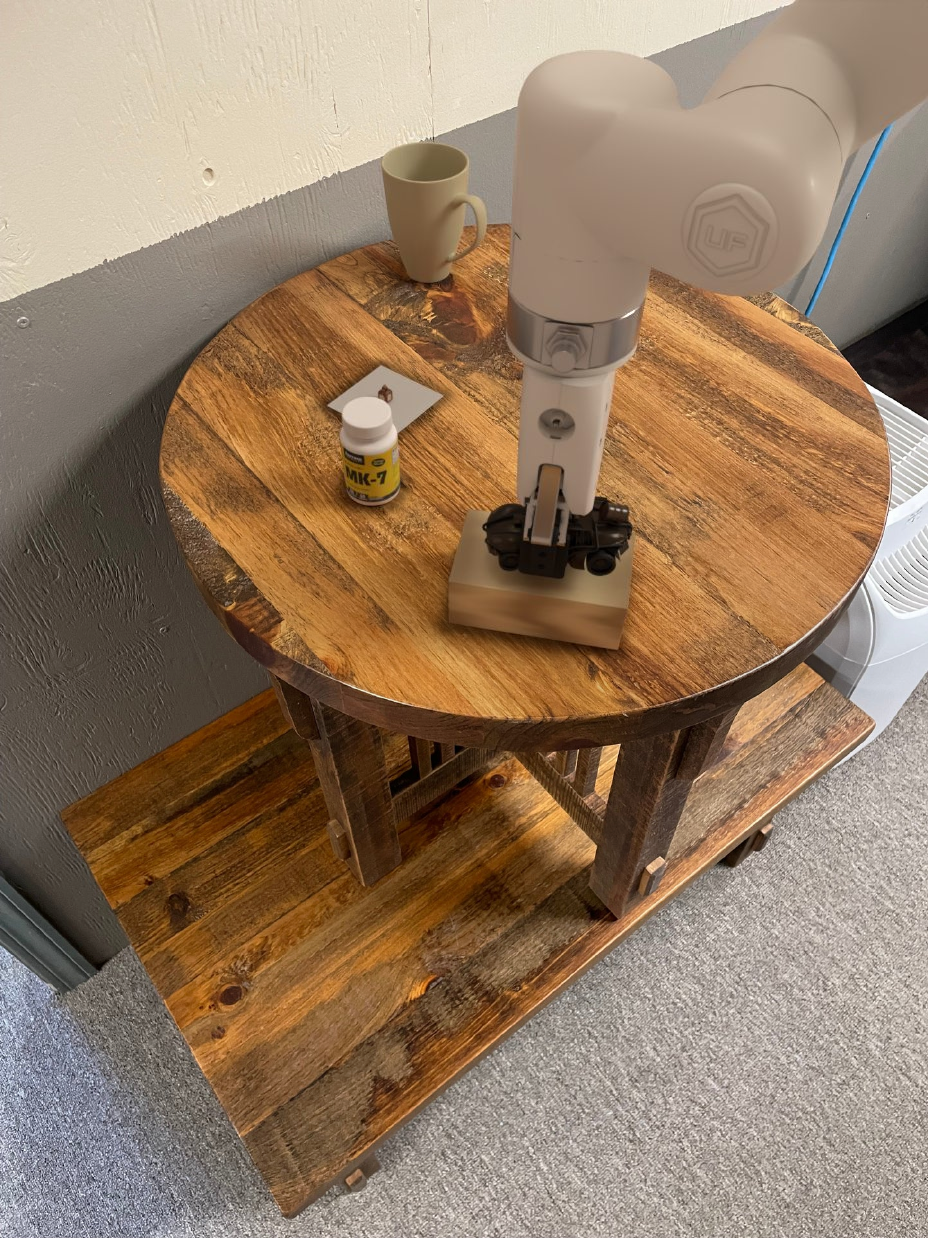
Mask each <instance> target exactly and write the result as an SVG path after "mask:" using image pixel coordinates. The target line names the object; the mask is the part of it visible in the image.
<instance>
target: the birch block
mask: <svg viewBox="0 0 928 1238" xmlns="http://www.w3.org/2000/svg"><path fill="white" fill-rule="evenodd" d="M491 512H492V511H487V510H479V509H473V508H468V509H467V512H466V516H465V519H464V520H465V521H464V523H463V527H462V531H461V534H460V537H459V541H458V544H457V548H456V552H455V555H454V559H453V563H452V567H451V570H450V573H449V577H448V581H447V583H448V585H447V586H448V587H447V589H448V591H447V592H448V623H449V624H453V625H458V626H464V627H465V626H466V627H471V628H478V629H484V630H490V631H495V632H496V631H497V632H502V633H509V634H515V635H522V636H528V637H535V638H541V639H546V640H552V641H559V642H564V643H565V642H566V643H572V644H577V645H582V646H583V645H584V646H590V647H596V648H603V649H609V650H614V651H618V650H619V646H620V642H621V639H622V635H623V630H624V626H625V622H626V617H627V614H628V611H629V600H630V591H631V584H632V583H631V581H632V573H633V563H634V555H635V553H634V552H635V543H636V532H633V531H632V535H631V537H630V540H628V539H627V541H628V545H629V548H628V549H627V550H626V551H625V552H624V553H623V554H622V555H620V552H619V550H618V552H619V556H620V561H619V560H618V559H617V558H616V557H615V558H616V567H615V569H614V571H613V572H611V573H610V574H608V575H604V576H596V575H592V574H591V573H589V572H588V570H587V567H586V558H585V561H584V568H585V570H579V569H574V568H572V567H571V566H570V565H569V563H567V567H566V568H565V574H564V577H563V578H562V579H556V578H549V577H542V576H536V575H529V574H523V573H521V572H519V570H518V569H517V570H515V571H505V570H503V569H502V568H501V567H500V565H499V560H498V556H494V555H492V554H491V553H490V554H489V551H488V547H487V544H486V543H485V539H486V536H487V534H486V532H485V531H484V530H483V529H482V525H483V524H484V523H486V522H487V519H488V517H489V515H490V514H491ZM485 528H486V526H485ZM627 537H628V536H627Z"/></svg>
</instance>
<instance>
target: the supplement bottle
mask: <svg viewBox="0 0 928 1238" xmlns="http://www.w3.org/2000/svg"><path fill="white" fill-rule="evenodd" d="M341 423H342V424H341V425H342V427H341V429H340V431H339V445H340V452H341V461H342V469H343V475H344V476H343V477H344V485H345V490H346V492H347V495H348V496H349V498H350V499H352V501H354V502H356V503H357V504H360V505H363V506H381V505H385V504H387V503H389V502H391V501H392V500H394V499H395V498H396V497H397V495H398V494H399V493H400V490H401V472H400V470H401V469H400V455H399V454H400V453H399V435H398V434H397V430H396V428H395V426H394V424H393V423H392V415H391V409H390V407H389V405H388V404H387V403H386V402H385V401H383V400H381V399H378V398H375V397H360V398H357V399H354V400H352V401H350V402H348V403H347V404H346V405H345V406H344V408H343V410H342V413H341Z"/></svg>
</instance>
